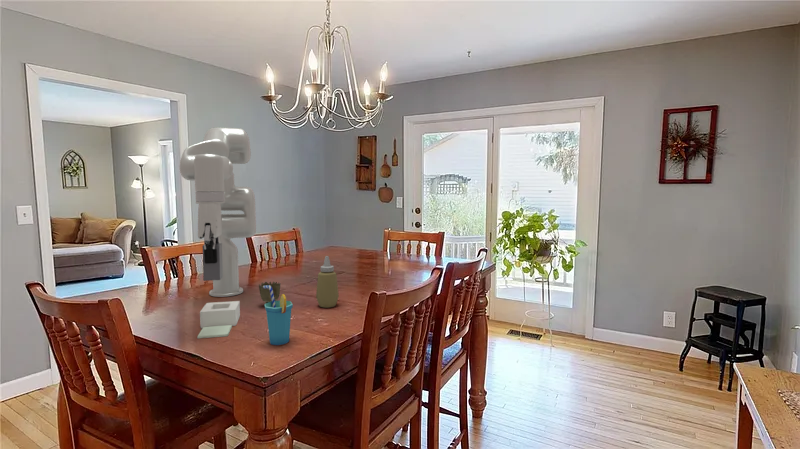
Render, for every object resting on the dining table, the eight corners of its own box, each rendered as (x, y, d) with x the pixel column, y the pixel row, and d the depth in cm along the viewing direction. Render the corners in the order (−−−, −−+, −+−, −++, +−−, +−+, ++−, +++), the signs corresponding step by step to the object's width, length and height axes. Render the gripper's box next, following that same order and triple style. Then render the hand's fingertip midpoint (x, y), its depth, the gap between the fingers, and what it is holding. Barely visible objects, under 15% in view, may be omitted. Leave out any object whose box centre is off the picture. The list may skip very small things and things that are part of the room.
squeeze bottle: (311, 305, 149) (310, 256, 147) (329, 301, 155) (329, 253, 153) (325, 310, 144) (324, 259, 142) (343, 305, 150) (343, 256, 148)
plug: (206, 277, 122) (205, 243, 121) (222, 276, 123) (221, 243, 122) (203, 280, 118) (202, 245, 117) (220, 280, 119) (219, 245, 118)
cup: (252, 337, 118) (251, 285, 116) (277, 331, 123) (276, 281, 122) (277, 351, 108) (276, 295, 106) (303, 343, 113) (302, 289, 112)
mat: (203, 329, 125) (203, 327, 125) (231, 326, 127) (231, 325, 126) (197, 338, 117) (197, 336, 117) (227, 336, 119) (227, 334, 119)
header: (207, 317, 135) (206, 302, 135) (240, 315, 137) (239, 300, 137) (200, 328, 125) (199, 312, 125) (235, 325, 128) (235, 309, 127)
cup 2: (274, 309, 145) (274, 286, 144) (255, 307, 146) (254, 285, 146) (284, 303, 152) (284, 281, 151) (266, 302, 154) (265, 280, 153)
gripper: (202, 197, 125) (204, 257, 127) (188, 199, 109) (191, 267, 111) (228, 197, 127) (230, 256, 129) (219, 199, 111) (221, 266, 113)
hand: (212, 260), depth 120 cm, fingers closed on plug, 4 cm apart
